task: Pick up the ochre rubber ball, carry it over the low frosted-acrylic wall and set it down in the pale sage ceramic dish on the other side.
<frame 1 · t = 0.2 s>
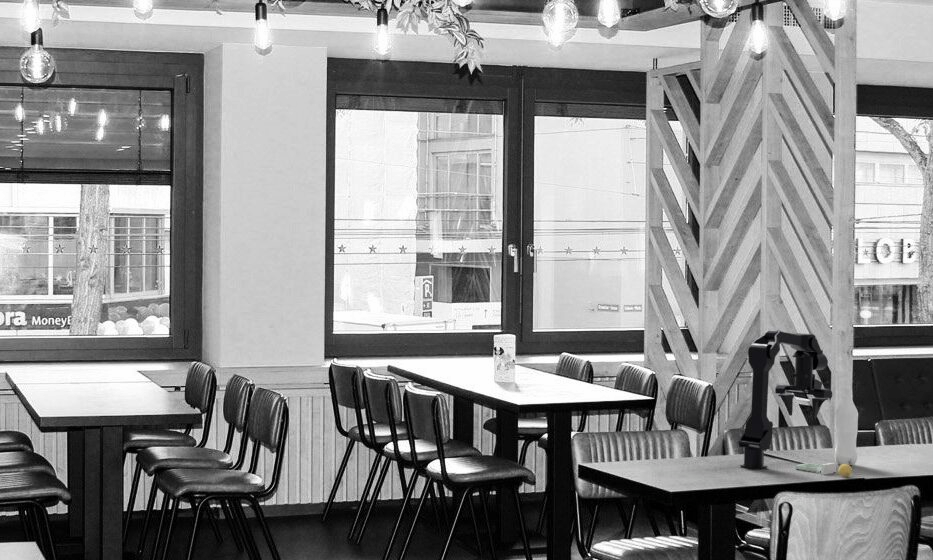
hand: (802, 417, 395), 15 cm above the table, fingers open, 9 cm apart
dish: (812, 470, 375), on the table
water bottle: (845, 465, 387), on the table
ball: (845, 470, 363), point 2 cm above the table
wall: (828, 473, 369), on the table
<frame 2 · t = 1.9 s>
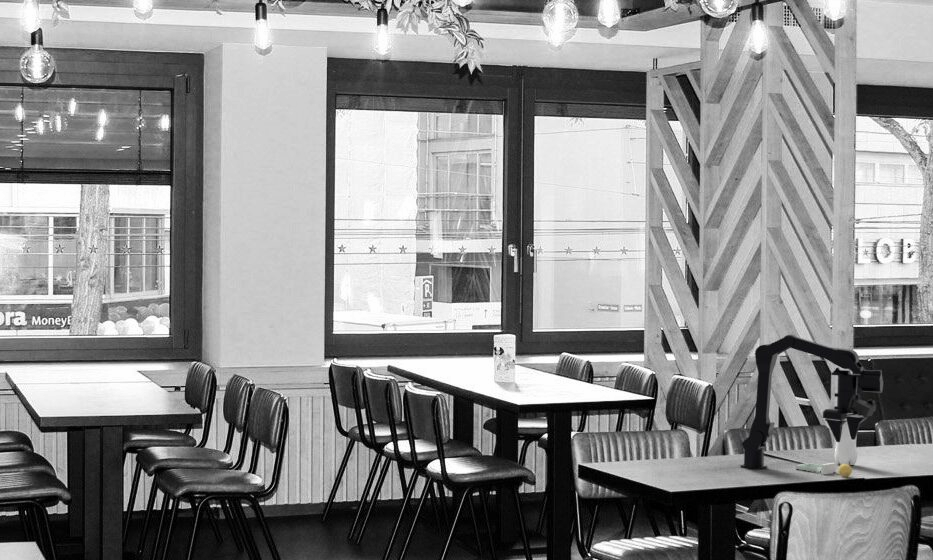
hand: (845, 440, 363), 11 cm above the table, fingers open, 9 cm apart
nothing on the table moved.
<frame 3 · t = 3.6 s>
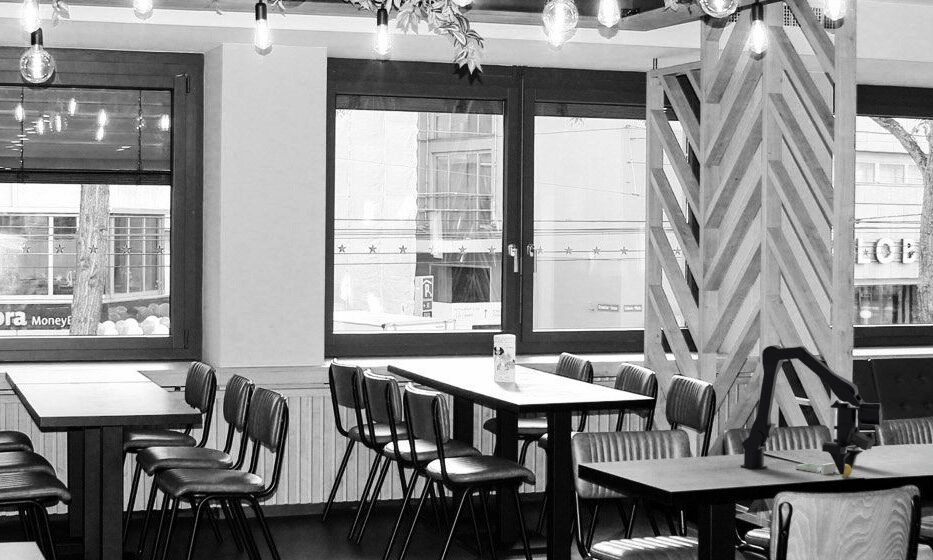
hand: (845, 473, 363), 1 cm above the table, fingers closed on ball, 4 cm apart
ball: (845, 470, 363), point 2 cm above the table, touching gripper
everything else where it was.
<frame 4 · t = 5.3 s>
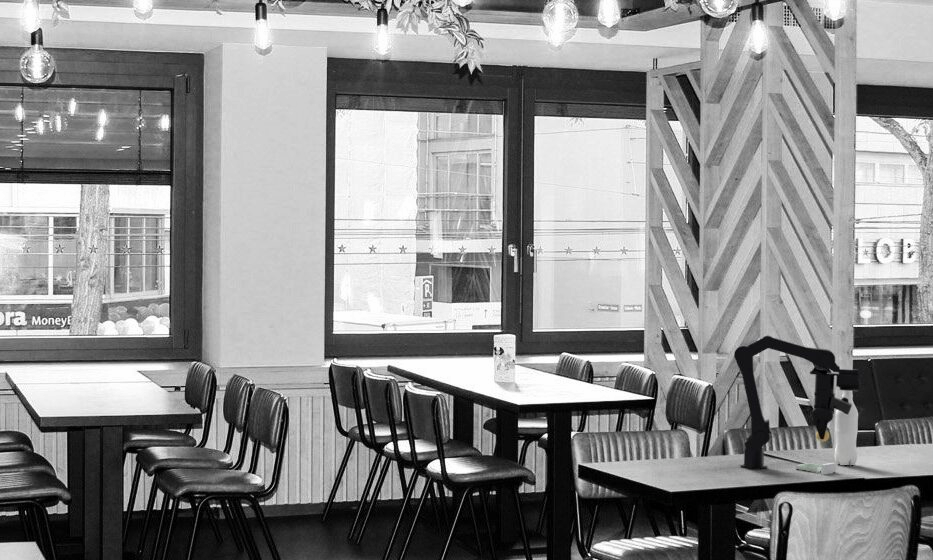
hand: (822, 438, 371), 11 cm above the table, fingers closed on ball, 4 cm apart
ball: (822, 435, 371), point 12 cm above the table, touching gripper
everything else where it was.
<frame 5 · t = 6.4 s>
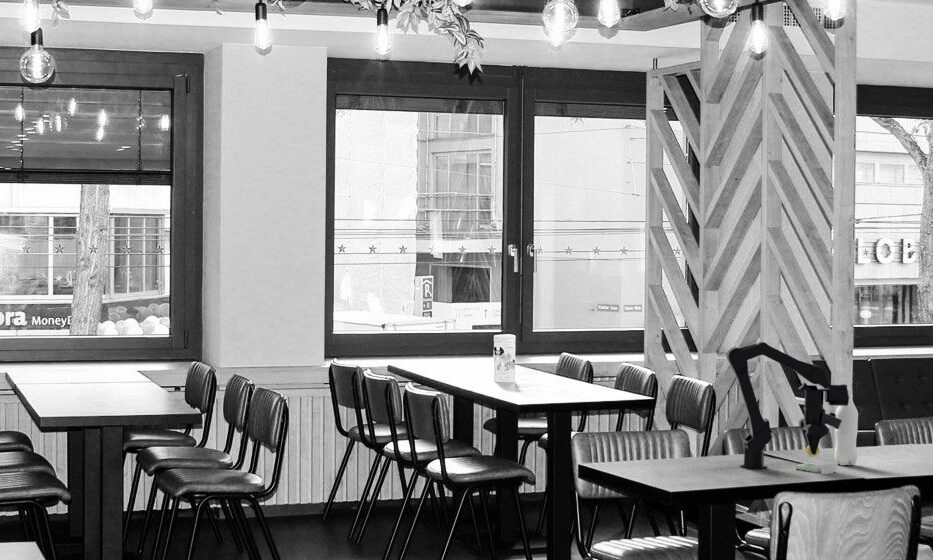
hand: (812, 453, 375), 5 cm above the table, fingers closed on ball, 4 cm apart
ball: (812, 450, 375), point 6 cm above the table, touching gripper
everything else where it was.
when the fingers open (3 cm above the table, at t = 7.0 s): ball drops 2 cm, resting on dish.
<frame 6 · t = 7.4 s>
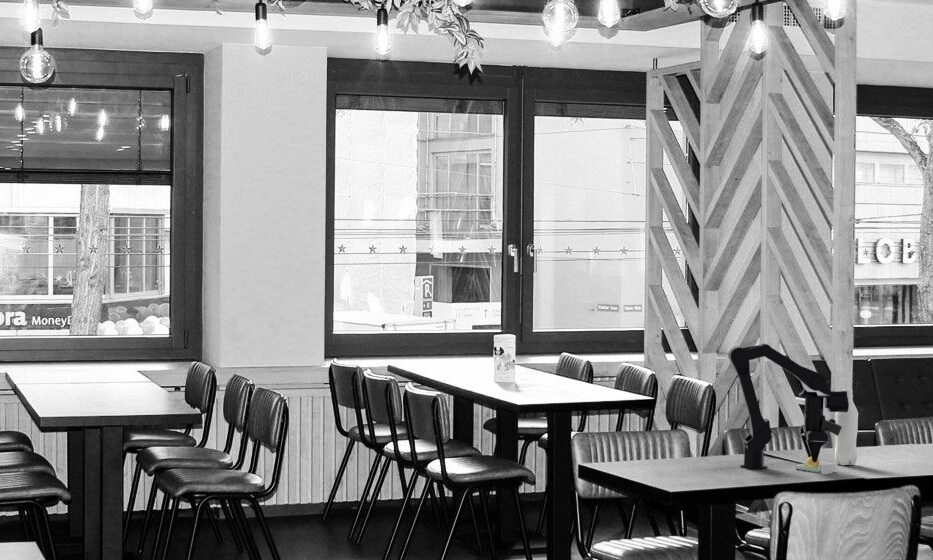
hand: (812, 460, 375), 3 cm above the table, fingers open, 8 cm apart
ball: (812, 462, 374), point 2 cm above the table, tilted 6°, touching dish
everything else where it was.
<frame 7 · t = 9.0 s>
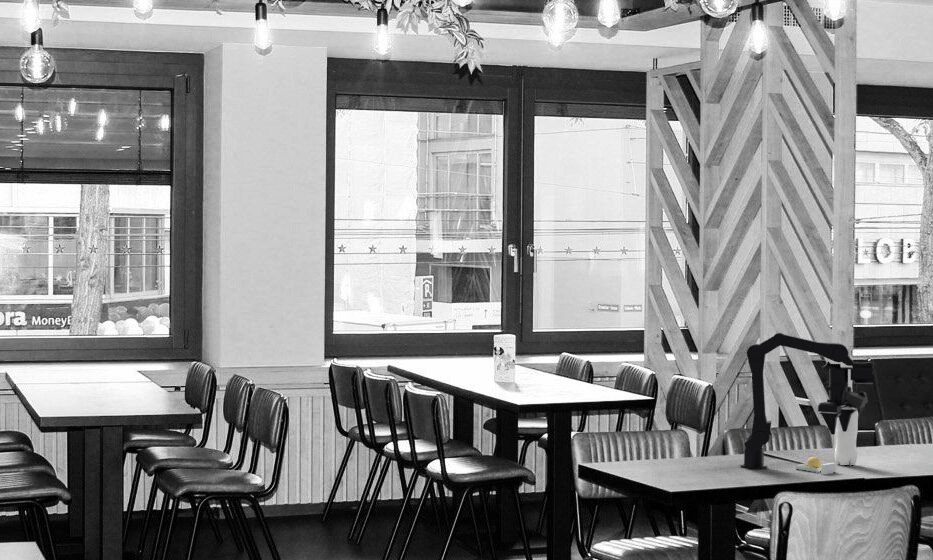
hand: (838, 432, 369), 13 cm above the table, fingers open, 9 cm apart
ball: (813, 463, 373), point 2 cm above the table, tilted 36°, touching dish
everything else where it was.
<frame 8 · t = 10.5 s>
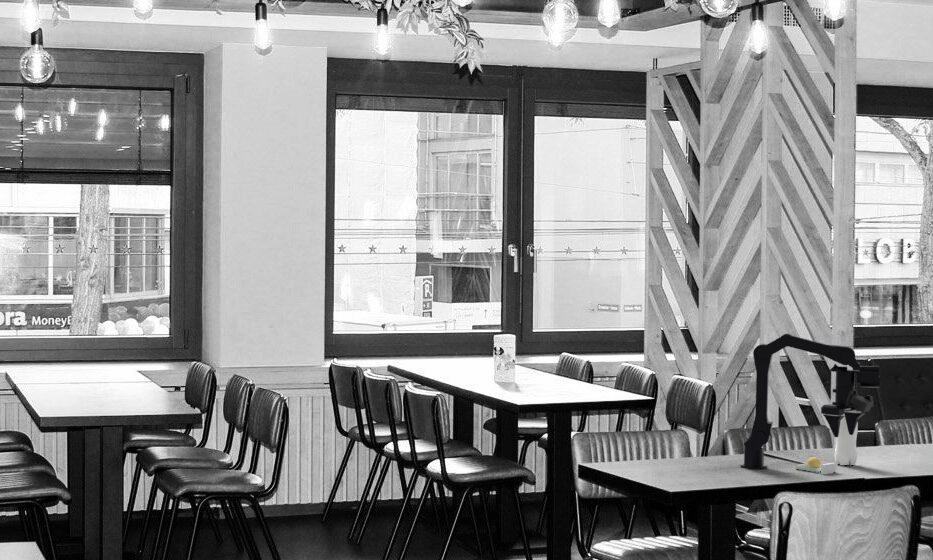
hand: (843, 435, 368), 12 cm above the table, fingers open, 9 cm apart
ball: (813, 463, 373), point 2 cm above the table, tilted 58°, touching dish
everything else where it was.
at the end: ball 2.0 cm off-centre on the dish, point 2.4 cm above the dish's base; the gripper is holding nothing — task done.
